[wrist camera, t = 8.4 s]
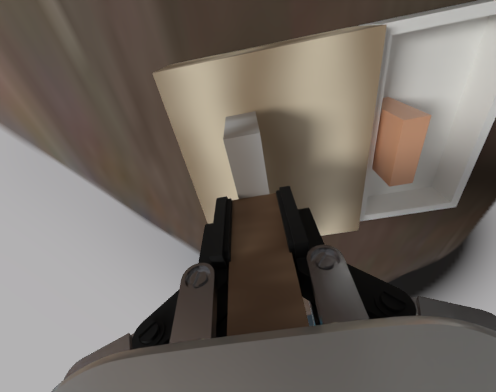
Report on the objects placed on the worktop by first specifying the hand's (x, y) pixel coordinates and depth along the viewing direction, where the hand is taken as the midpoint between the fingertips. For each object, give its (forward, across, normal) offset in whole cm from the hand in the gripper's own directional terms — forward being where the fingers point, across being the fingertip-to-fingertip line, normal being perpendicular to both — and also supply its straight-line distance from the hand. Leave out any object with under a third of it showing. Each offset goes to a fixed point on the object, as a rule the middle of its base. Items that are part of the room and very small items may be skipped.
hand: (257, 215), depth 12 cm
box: (+8, -12, 0) cm, 15 cm away
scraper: (+3, 0, 0) cm, 3 cm away
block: (+5, -9, 0) cm, 10 cm away
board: (+8, -2, 0) cm, 9 cm away
